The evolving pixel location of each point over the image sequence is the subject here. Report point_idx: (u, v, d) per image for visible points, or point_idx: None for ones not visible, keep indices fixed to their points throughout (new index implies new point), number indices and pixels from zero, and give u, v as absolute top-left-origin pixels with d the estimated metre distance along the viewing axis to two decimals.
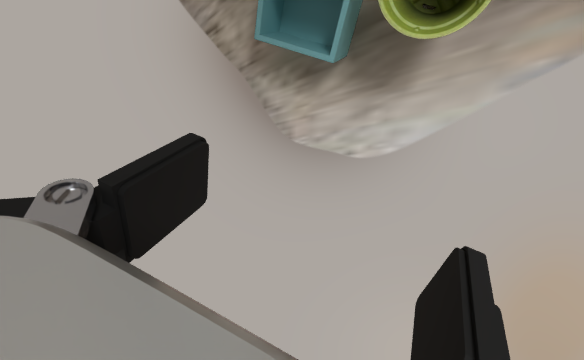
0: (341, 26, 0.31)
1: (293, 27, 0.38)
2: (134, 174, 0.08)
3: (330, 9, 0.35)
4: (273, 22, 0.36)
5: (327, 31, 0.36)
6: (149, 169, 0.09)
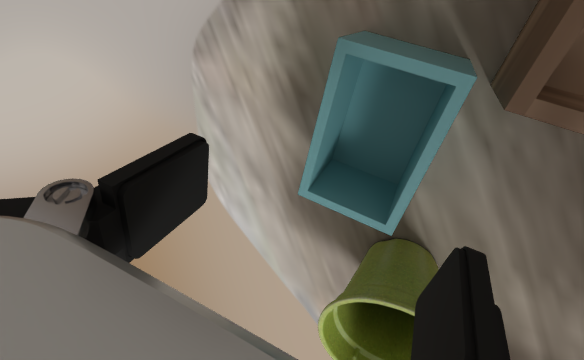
0: (348, 215, 0.19)
1: (373, 77, 0.20)
2: (134, 174, 0.08)
3: (391, 146, 0.22)
4: None
5: (359, 138, 0.22)
6: (149, 169, 0.09)
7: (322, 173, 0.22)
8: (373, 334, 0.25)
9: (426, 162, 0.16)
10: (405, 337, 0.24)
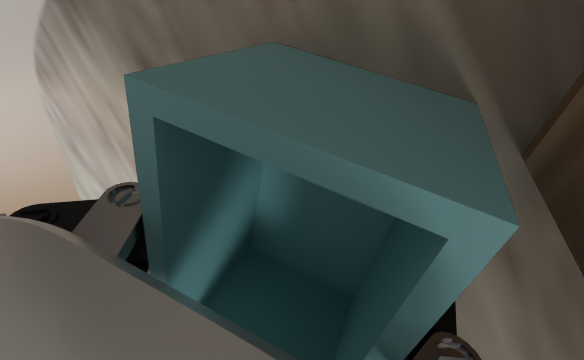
0: None
1: None
2: None
3: (337, 243, 0.12)
4: None
5: (285, 225, 0.13)
6: None
7: (219, 288, 0.13)
8: None
9: None
10: None
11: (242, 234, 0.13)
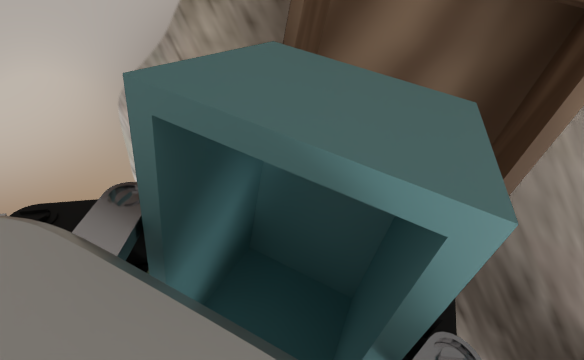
0: None
1: None
2: None
3: (337, 242, 0.12)
4: None
5: (285, 224, 0.13)
6: None
7: (219, 288, 0.13)
8: None
9: None
10: None
11: (242, 233, 0.13)
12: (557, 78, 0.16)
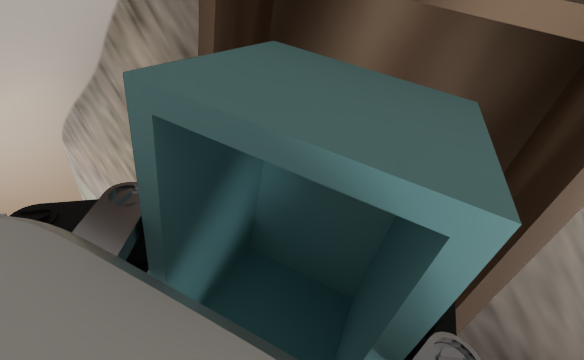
0: None
1: None
2: None
3: (337, 242, 0.12)
4: None
5: (285, 224, 0.13)
6: None
7: (219, 288, 0.13)
8: None
9: None
10: None
11: (242, 233, 0.13)
12: (559, 141, 0.12)
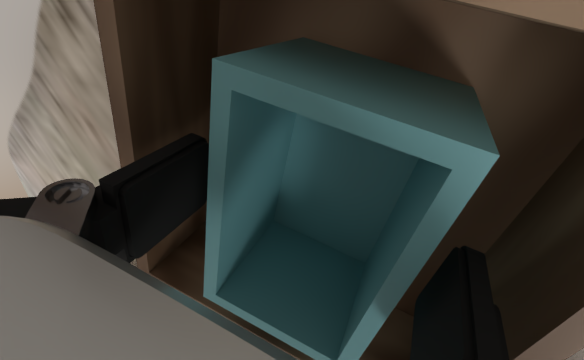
0: (278, 337, 0.12)
1: None
2: (135, 174, 0.08)
3: (353, 212, 0.14)
4: None
5: (307, 198, 0.15)
6: (150, 169, 0.09)
7: (250, 252, 0.15)
8: None
9: (396, 291, 0.08)
10: None
11: (270, 205, 0.15)
12: None
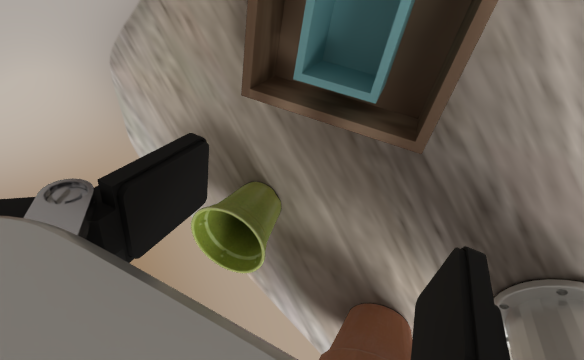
0: (338, 90, 0.22)
1: None
2: (134, 174, 0.08)
3: (373, 38, 0.25)
4: None
5: (345, 35, 0.25)
6: (149, 169, 0.09)
7: (313, 66, 0.25)
8: (238, 243, 0.38)
9: (400, 20, 0.19)
10: (257, 243, 0.38)
11: (323, 40, 0.25)
12: None
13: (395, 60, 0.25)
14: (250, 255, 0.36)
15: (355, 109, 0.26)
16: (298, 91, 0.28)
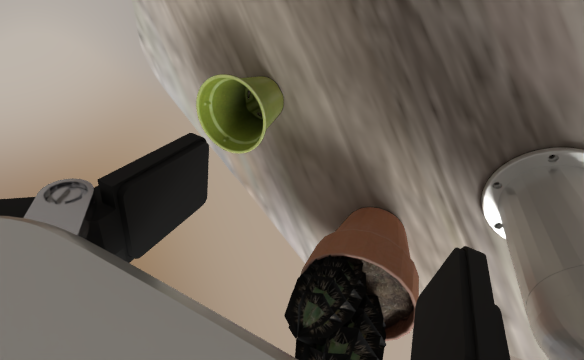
0: None
1: None
2: (134, 174, 0.08)
3: None
4: None
5: None
6: (149, 169, 0.09)
7: None
8: (240, 133, 0.39)
9: None
10: (259, 133, 0.39)
11: None
12: None
13: None
14: (252, 140, 0.38)
15: None
16: None
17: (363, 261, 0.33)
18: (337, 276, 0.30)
